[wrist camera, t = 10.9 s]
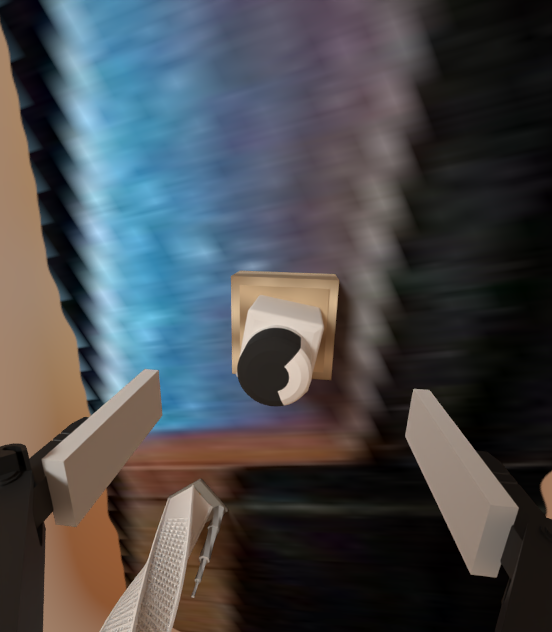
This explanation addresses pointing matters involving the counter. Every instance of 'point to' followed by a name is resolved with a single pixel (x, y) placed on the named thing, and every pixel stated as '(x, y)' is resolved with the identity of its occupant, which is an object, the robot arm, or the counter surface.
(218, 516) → the skyscraper
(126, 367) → the counter surface
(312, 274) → the base block
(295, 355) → the medicine bottle
